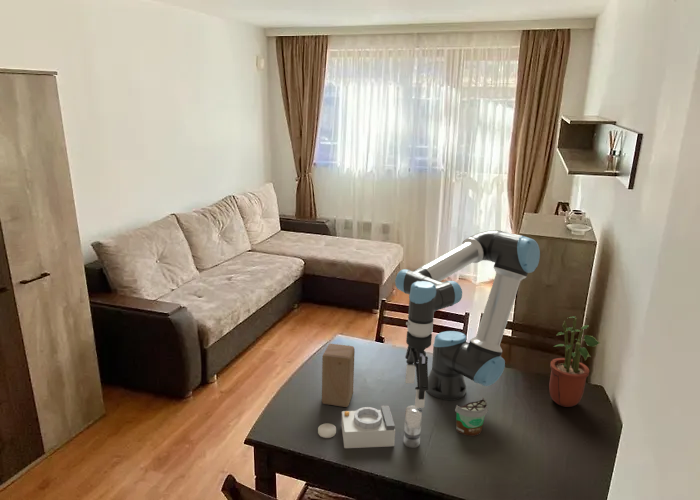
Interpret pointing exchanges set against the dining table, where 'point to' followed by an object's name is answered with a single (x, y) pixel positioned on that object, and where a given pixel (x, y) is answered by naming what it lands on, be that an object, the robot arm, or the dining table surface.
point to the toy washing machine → (368, 428)
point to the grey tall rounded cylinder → (412, 426)
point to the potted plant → (570, 369)
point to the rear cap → (327, 430)
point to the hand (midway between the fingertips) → (414, 394)
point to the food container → (471, 417)
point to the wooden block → (337, 375)
